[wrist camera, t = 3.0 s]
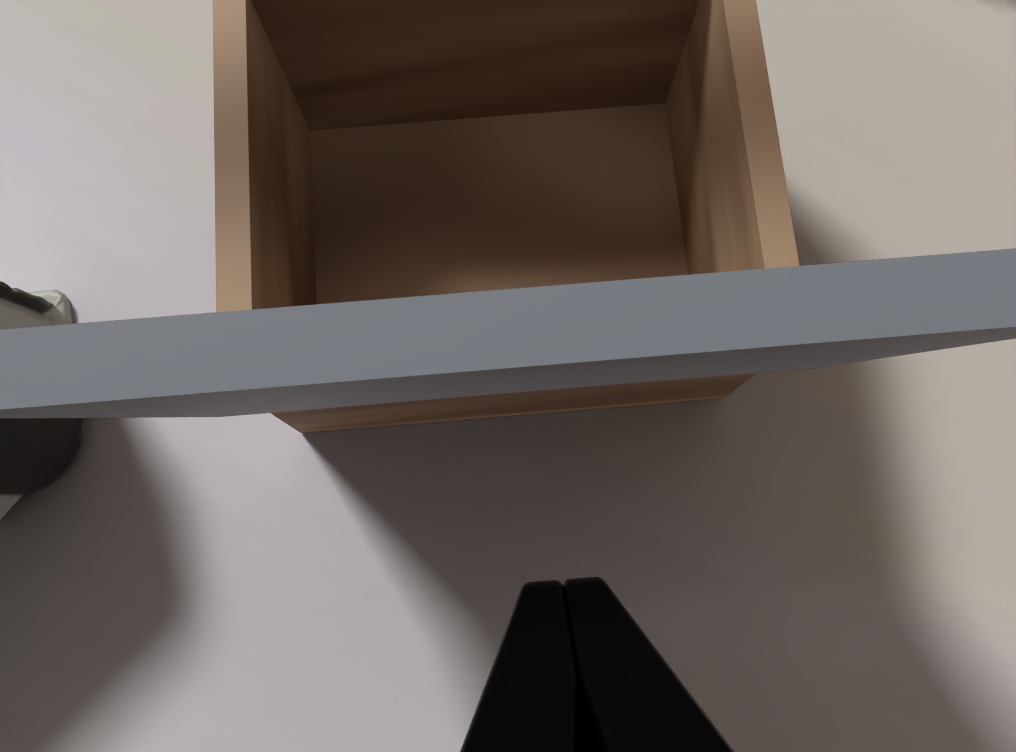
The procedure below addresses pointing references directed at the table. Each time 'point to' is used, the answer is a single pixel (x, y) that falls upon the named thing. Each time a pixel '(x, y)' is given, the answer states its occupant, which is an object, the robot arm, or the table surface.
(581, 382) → the lid
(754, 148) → the box
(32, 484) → the tape dispenser
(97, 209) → the table surface
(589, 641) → the robot arm
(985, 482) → the table surface
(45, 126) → the table surface
